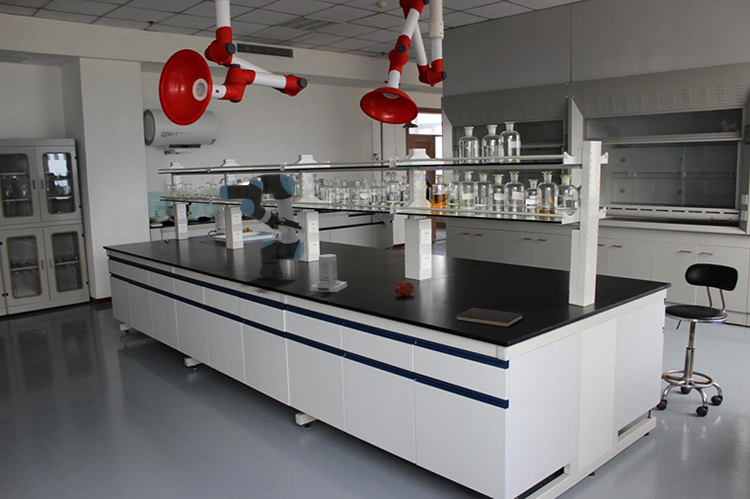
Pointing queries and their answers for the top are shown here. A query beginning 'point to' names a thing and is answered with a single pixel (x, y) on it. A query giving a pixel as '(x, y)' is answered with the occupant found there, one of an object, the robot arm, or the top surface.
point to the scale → (329, 286)
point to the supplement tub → (328, 268)
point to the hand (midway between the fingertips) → (295, 231)
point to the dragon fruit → (404, 289)
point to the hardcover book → (489, 317)
